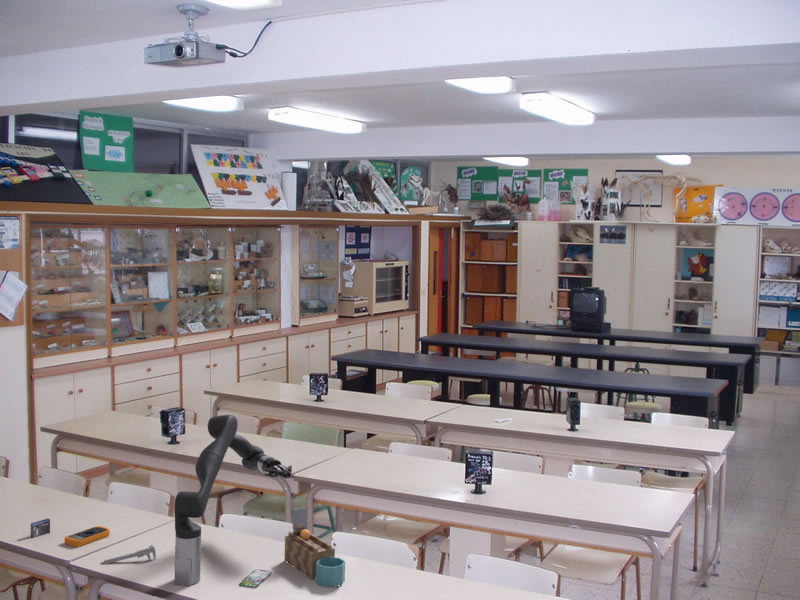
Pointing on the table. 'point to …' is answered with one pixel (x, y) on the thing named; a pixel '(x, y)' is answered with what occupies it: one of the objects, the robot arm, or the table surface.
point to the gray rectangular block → (299, 520)
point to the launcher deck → (306, 552)
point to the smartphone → (255, 578)
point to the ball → (305, 534)
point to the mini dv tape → (40, 528)
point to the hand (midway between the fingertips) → (288, 475)
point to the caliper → (133, 555)
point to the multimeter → (87, 536)
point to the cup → (330, 571)
